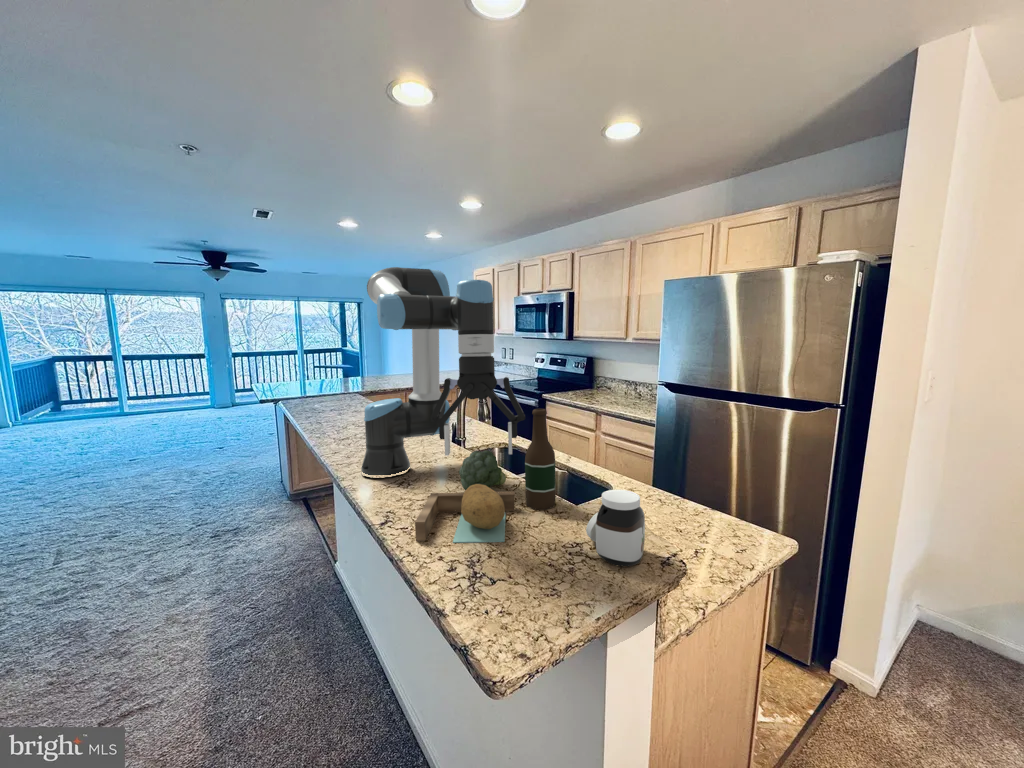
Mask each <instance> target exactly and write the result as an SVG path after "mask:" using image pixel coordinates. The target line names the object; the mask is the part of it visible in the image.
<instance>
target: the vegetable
mask: <svg viewBox="0 0 1024 768" xmlns="http://www.w3.org/2000/svg"><path fill="white" fill-rule="evenodd" d="M458 473H459V477H460V483H461V487H462V489H463V490H465V491H466V490H467V488H469V487H470V486H471V485H475V484H481V485H486V486H487V487H489V488H491V487H493V486H499V485H501V486H503V485H505V482H506V480H507V476H506V473H505V472H503V469H502V468H501V467H499V462H498V461H497V457H496V456H495V455H494V453H493V452H492V451H490V450H487V449H485V450H483V451H479V450H475V451H473V452H471V453H470V454H469V456H467V457H465V458H464V459H463V461H462V465H461V466H460V469H459V470H458ZM465 491H464V492H465Z"/></svg>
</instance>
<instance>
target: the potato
mask: <svg viewBox="0 0 1024 768" xmlns="http://www.w3.org/2000/svg"><path fill="white" fill-rule="evenodd" d="M496 492H497V491H495V490H494V489H492V488H491V487H490V488H489V487H487V486H486V485H481V484H475V485H471V486H470V487H469V488H467V490H466V491H464V492H463V493H464V495H463V498H462V505H461V513H462V515H463V517H464V520H465V521H467V522H468V523H470V524H472V525H473V526H475V527H477V528H483V529H491V528H493V527H496V526H498V525H499V523H500V522H501V520H502V519H503V517H504V516H505V517H506V515H505V513H504V512H505V511H504V503H503V500H502V498H501V497H500V495H499V494H497V493H496ZM461 513H460V514H461Z"/></svg>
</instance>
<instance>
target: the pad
mask: <svg viewBox="0 0 1024 768" xmlns="http://www.w3.org/2000/svg"><path fill="white" fill-rule="evenodd" d="M506 512H507V511H504V513H505V516H504V517H503V519H502V520H501V522H500V523H499V525H498V526H496V527H493V528H491V529H483V528H477V527H475V526H473V525H472V524H470V523H468V522H467V521H465V520H464V517H463V515H462V513H460V515H459V519H458V524H457V526H456V529H455V532H454V536H453V539H452V543H453V544H466V543H467V544H468V543H473V544H474V543H504V542H505V538H506V537H505V535H506V514H507V513H506Z"/></svg>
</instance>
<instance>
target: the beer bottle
mask: <svg viewBox="0 0 1024 768" xmlns="http://www.w3.org/2000/svg"><path fill="white" fill-rule="evenodd" d="M531 415H533V417H532V437H531V442H530V444H529V446H527V449H526V452H525V458H524V480H525V481H524V485H525V486H524V487H525V488H524V489H525V495H524V496H525V504H526V507H529V508H530V509H532V510H539V511H546V510H549V509H553V508H555V504H556V498H557V497H556V495H557V494H556V488H557V487H556V486H557V485H556V453H555V451H554V448H553V446H552V444H551V443H550V441H549V437H548V436H549V435H548V428H547V425H548V424H547V415H548V411H547V409H545V408H534V409H533V410H532V413H531Z"/></svg>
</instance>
